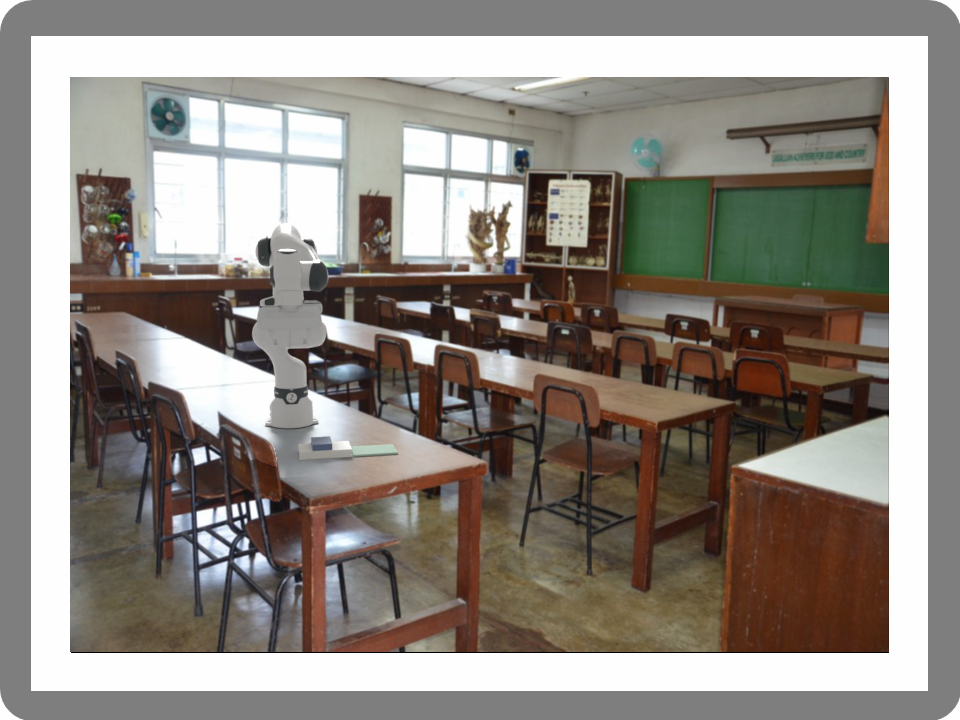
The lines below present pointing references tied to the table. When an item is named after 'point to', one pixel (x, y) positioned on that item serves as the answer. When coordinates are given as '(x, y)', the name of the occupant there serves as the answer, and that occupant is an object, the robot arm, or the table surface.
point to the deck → (325, 451)
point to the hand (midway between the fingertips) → (290, 344)
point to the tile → (321, 443)
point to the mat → (373, 450)
